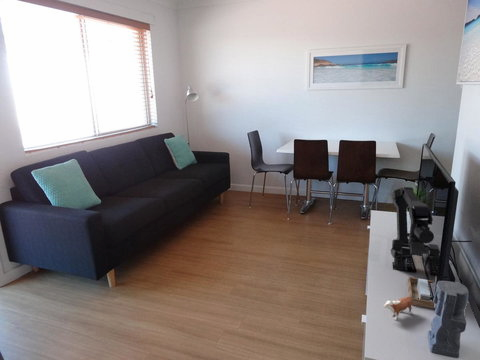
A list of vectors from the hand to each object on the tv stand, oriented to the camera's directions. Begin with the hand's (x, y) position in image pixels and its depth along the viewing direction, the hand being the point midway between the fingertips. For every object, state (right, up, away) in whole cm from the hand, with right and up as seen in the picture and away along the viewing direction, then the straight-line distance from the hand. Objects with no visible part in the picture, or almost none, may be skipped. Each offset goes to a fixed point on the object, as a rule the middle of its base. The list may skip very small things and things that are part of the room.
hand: (413, 264), depth 158 cm
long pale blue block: (+2, -12, -4) cm, 13 cm away
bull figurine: (-14, -17, -16) cm, 27 cm away
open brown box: (+2, -13, -4) cm, 13 cm away
